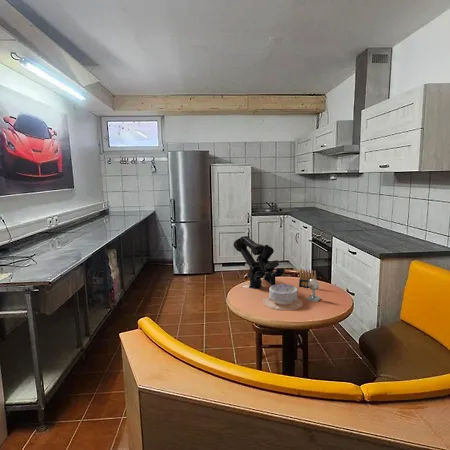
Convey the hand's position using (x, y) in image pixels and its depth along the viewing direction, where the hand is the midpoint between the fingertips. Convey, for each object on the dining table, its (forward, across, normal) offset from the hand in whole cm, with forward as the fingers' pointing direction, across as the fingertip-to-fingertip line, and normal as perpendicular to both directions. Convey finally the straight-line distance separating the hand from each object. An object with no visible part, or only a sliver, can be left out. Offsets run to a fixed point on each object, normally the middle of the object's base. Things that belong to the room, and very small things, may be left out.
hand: (274, 286), depth 189 cm
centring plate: (+10, 0, -1) cm, 10 cm away
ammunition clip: (+1, +28, +9) cm, 29 cm away
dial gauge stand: (+13, +18, -4) cm, 23 cm away
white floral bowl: (+10, 0, -1) cm, 10 cm away
